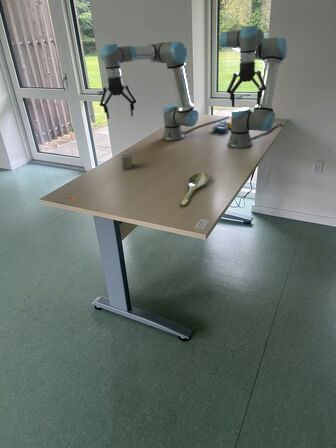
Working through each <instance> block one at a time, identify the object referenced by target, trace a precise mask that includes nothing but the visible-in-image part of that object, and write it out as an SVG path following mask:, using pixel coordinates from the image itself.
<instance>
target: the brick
mask: <svg viewBox="0 0 336 448" xmlns="http://www.w3.org/2000/svg"><path fill="white" fill-rule="evenodd" d="M121 161H122V168H123V170H125V171H126V170H132V169H133V160H132V153H130V152H128V153H122V156H121Z"/></svg>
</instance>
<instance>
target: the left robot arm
mask: <svg viewBox="0 0 336 448" xmlns="http://www.w3.org/2000/svg"><path fill="white" fill-rule="evenodd" d="M99 57H100V60H102V61H103V62H104V66H105V71H106V77H108V78H107V85H108V87H106V86H104V87H103V88H102V90H103V91H102V96H101V99H100V103H99V106H100V107H103V112H104V113H105V114H106V118H107V119H108V120H109V119H110V113H109V107H108V103H109V102H110V100H111V98H112V96H113V97H114V96H115V97H116V96H123V98H124V99H125V100H127V102H128V103H129V107H130V115H131V117H132V118H133V117H134V112H133V111H135V104H136V103H137V99H136V97H135V96H134V94H133V93H132V91H131V89H130V86H129V84H126V85H123V78H122V71H121V64H122V63H129V62H134V61H135V62H136V61H137V62H138V61H147V62H148V63H158V64H159V63H160V64H166V68H167V69H168V70H169V71H170V76H171V80H172V84H173V89H174V93H175V98H176V103H177V104H171V105H166V106H165V107H163V113H162V114H163V123H164V130H163V135H162V139H163V140H164V141H167V142H176V141H180V140H182V139H184V137H185V136H184V134H187V133H189V132H191V131H193V130H195V129H198V128H200V127H203V126H207V125H209V124H213V123H218V122H219V121H224V120H225V119H229V118H230V116H226V117H223V118H220V119H217V120H213V121H210V122H206V123H203V124H199V125H198V126H195V125H196V124H197V122H198V121H199V111H198V110H197V109H196V108H195V107H194V104H193V103H192V102H191V98H190V94H189V88H188V81H187V78H186V73H185V68H184V67H185V65H186V61H187V59H188V48H187V46H186V45H185V44H184V43H183V42H181V41H161V42H157V43H151V44H150V43H149V44H146V45H142V46H140V45H139V46H133V45H125V46H124V45H123V46H118V44H117V43H108V44H107V43H106V44H103V45H102V47H101V49H100V51H99ZM124 90H125V91H127V94H129V96H130V97H129V96H128V95H127V94H126V93H125V91H124ZM107 92H109V95H108V97H107V98H106V94H107ZM105 98H106V100H105ZM104 101H105V102H104ZM182 126H184V127H191V128H190V129H188V130H187V131H183V129H182ZM194 126H195V127H194Z"/></svg>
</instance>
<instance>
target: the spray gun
mask: <svg viewBox="0 0 336 448" xmlns="http://www.w3.org/2000/svg"><path fill="white" fill-rule="evenodd" d="M230 129H231V121H228V122H227V121H226V120H220V121H218V122H216V124H215V125H214V126H213V127H212V130H211V131H213V132H214V133H216V132H217V133H228V132H229V130H230Z"/></svg>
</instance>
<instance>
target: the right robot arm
mask: <svg viewBox="0 0 336 448" xmlns="http://www.w3.org/2000/svg"><path fill="white" fill-rule="evenodd" d="M219 46H220V47H221V48H222V49H227V48H229V49H232V50H234V51H237V52H239V72H238V73H236V72H233V74H232V78H231V81H230V83H229V85H228V87H227V89H226V93H227V94H229V100H230V101H231V107H232V108H235V98H236V97H235V96H236V95H235V92H236V90H237V89H238V88H239V86H240V85H241V84H243V83H246V82H249V83H250V82H252V84H253V85H255V87H256V88H257V93H256V94H257V95H256V104H257V105H255V106H254V107H253V108H254V109H253V110H251V108H250V107H241V108H236V109H234V110H232V111H231V118H230V120H231V121H230V122H231V128H230V135H229V139H228V140H227V146H228V147H229V148H234V149H244V148H249V147H251V145H252V140H254V139H256V138H258V137H261V136H263V135H266V134H268V133H270V132H271V131H272V130H273V129H275V128H277V127H279V126H283V123H282V124H281V123H278V124H276V125H275V126H274V123H275V120H276V112H275V111H274V108H273V106H272V105H273V100H274V93H275V88H276V83H277V79H278V72H279V66H280V65H282V63H283V60H286V58H287V55H288V45H287V40H286V38H285V37H278V36H277V37H266V38H265V32H263V30H261V29H260V28H258V27H257V25H246V26H242V27H241V28H240V30H232V31H231V30H229V31H228V30H227V31H222V32H221V33H220V35H219ZM256 60H257V61H262V64H263V69H262V71H261V70H257V71H255V69H256V62H255V61H256ZM255 76H257V79H258V80H259V83H260V84H259V83H258V82H257V80H256V79H255V78H254V77H255ZM237 78H239V79H238V80H237ZM236 80H237V81H236ZM235 82H236V83H235ZM234 84H235V85H234ZM250 131H259V132H264V133H260V134H258V135H255V136H253V137H251V135H250Z"/></svg>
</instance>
